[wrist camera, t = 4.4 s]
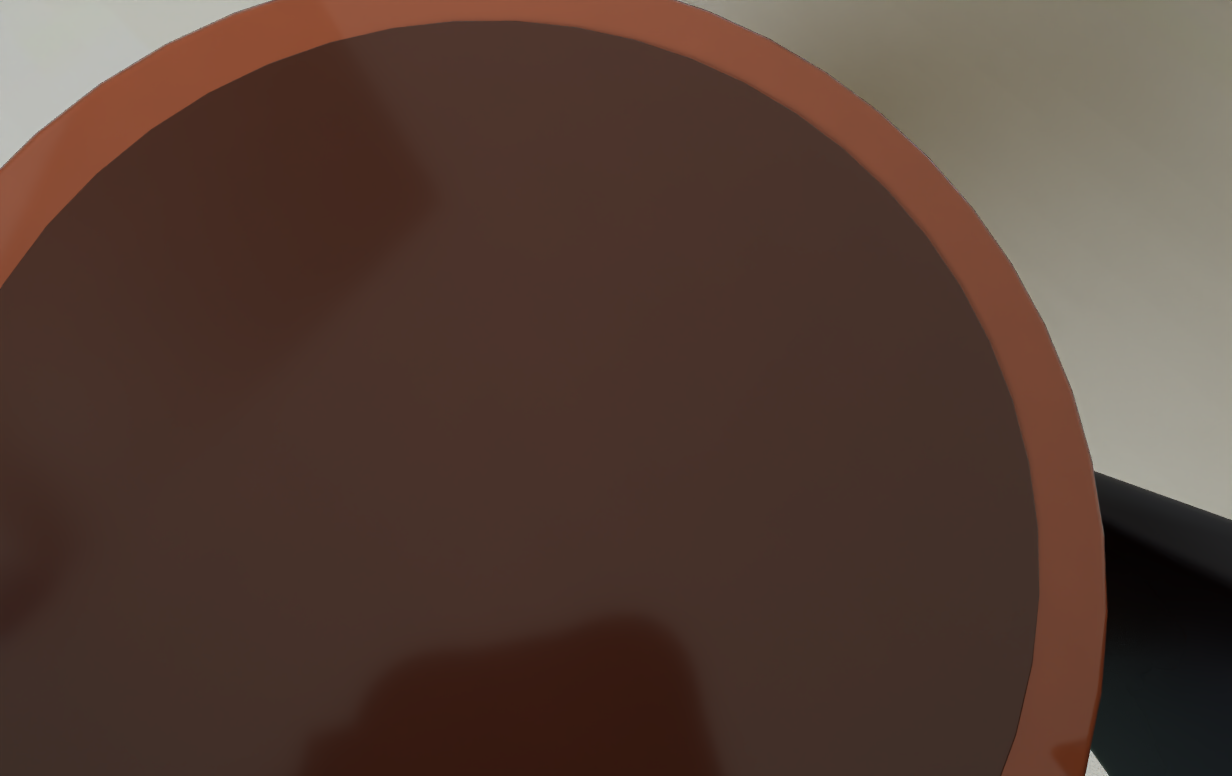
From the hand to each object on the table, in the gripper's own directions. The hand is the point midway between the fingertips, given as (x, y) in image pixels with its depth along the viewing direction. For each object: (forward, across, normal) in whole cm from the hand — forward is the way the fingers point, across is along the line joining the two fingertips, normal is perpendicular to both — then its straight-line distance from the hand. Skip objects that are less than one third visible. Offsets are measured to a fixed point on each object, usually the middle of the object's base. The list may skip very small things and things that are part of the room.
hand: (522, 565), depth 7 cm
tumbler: (+6, 0, +6) cm, 8 cm away
